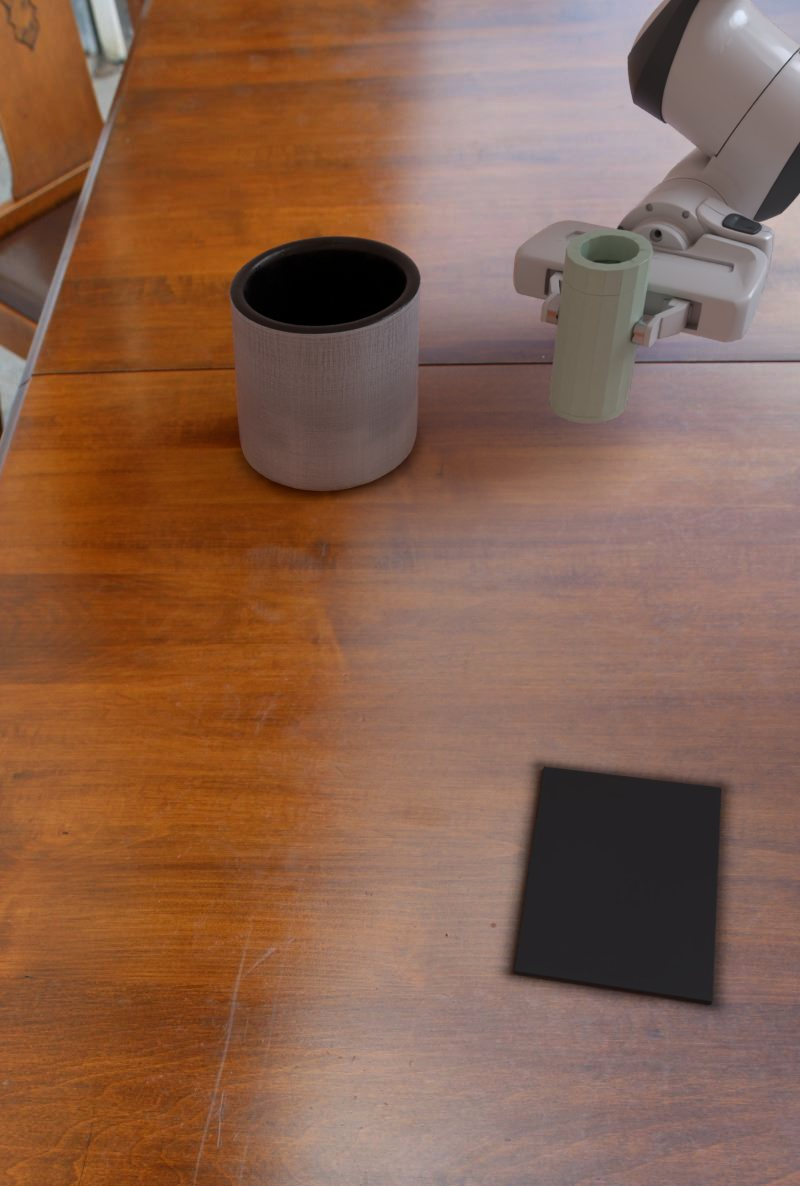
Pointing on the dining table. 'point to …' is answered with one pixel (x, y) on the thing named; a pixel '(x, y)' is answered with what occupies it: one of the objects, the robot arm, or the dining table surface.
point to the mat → (623, 885)
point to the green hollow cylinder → (598, 324)
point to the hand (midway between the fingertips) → (594, 326)
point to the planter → (327, 361)
